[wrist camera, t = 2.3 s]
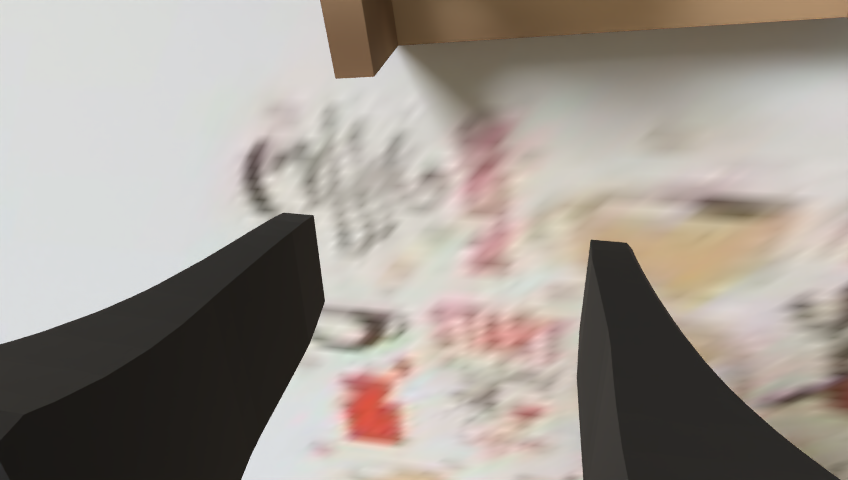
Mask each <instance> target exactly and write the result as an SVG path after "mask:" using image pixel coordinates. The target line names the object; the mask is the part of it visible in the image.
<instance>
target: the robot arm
mask: <svg viewBox="0 0 848 480" xmlns="http://www.w3.org/2000/svg"><path fill="white" fill-rule="evenodd" d="M324 302H325V298H324V291H323V283H322V276H321V268H320V260H319V253H318V245H317V238H316V230H315V222H314V215H303V214H292V213H282V214H280V215H278V216H276V217H274V218H272V219H270V220H269V221H267V222H265V223H263V224H262V225H260V226H258V227H257V228H255V229H253V230H252V231H250V232H248V233H247V234H245V235H243V236H242V237H240V238H239V239H237V240H235V241H234V242H232V243H230V244H229V245H227V246H225V247H224V248H222V249H220V250H219V251H217V252H215V253H214V254H212V255H210V256H209V257H207V258H205V259H203V260H202V261H200V262H198V263H196V264H194V265H193V266H191V267H189V268H187V269H185V270H183V271H182V272H180V273H178V274H176V275H174V276H172V277H171V278H169V279H167V280H165V281H163V282H161V283H160V284H158V285H156V286H154V287H152V288H150V289H148V290H146V291H144V292H141V293H139V294H137V295H135V296H133V297H131V298H128V299H126V300H124V301H122V302H119V303H117V304H115V305H113V306H110V307H108V308H106V309H103V310H101V311H98V312H96V313H93V314H90V315H88V316H85V317H82V318H79V319H77V320H74V321H71V322H68V323H66V324H63V325H60V326H57V327H55V328H52V329H49V330H46V331H43V332H40V333H37V334H34V335H31V336H27V337H24V338H21V339H18V340H14V341H11V342H7V343H4V344H0V480H241V478H242V476H243V474H244V471H245V469H246V466H247V464H248V461H249V459H250V456H251V454H252V452H253V450H254V448H255V446H256V444H257V442H258V440H259V438H260V436H261V434H262V432H263V430H264V428H265V426H266V425H267V423H268V421H269V419H270V417H271V415H272V413H273V412H274V410H275V408H276V406H277V404H278V402H279V400H280V399H281V397H282V395H283V393H284V391H285V389H286V388H287V386H288V384H289V382H290V380H291V378H292V376H293V375H294V373H295V371H296V369H297V367H298V365H299V363H300V361H301V359H302V358H303V356H304V354H305V352H306V350H307V348H308V346H309V344H310V341H311V339H312V336H313V333H314V331H315V328H316V325H317V322H318V320H319V317H320V314H321V311H322V308H323V305H324ZM577 387H578V404H579V420H580V435H581V450H582V466H583V480H840V479H838V478H837V477H836V476H834V475H833V474H831V473H830V472H829V471H827V470H826V469H825V468H823V467H822V466H821V465H819V464H818V463H817V462H815V461H814V460H813V459H811V458H810V457H809V456H807V455H806V454H805V453H803V452H802V451H801V450H799V449H798V448H797V447H795V446H794V445H793V444H792V443H790V442H789V441H788V440H787V439H786V438H784V437H783V436H782V435H781V434H779V433H778V432H777V431H776V430H774V429H773V428H772V427H771V426H770V425H769V424H768V423H767V422H765V421H764V420H763V419H762V418H761V417H760V416H759V415H758V414H756V413H755V412H754V411H753V410H752V409H751V408H750V407H749V406H747V405H746V404H745V403H744V402H743V401H742V400H741V399H740V398H739V397H738V396H737V395H736V394H735V393H734V392H733V391H732V390H731V389H730V388H729V387H728V386H727V385H726V384H725V383H724V382H723V381H722V380H721V379H720V378H719V377H718V376H717V374H716V373H715V372H714V371H713V370H712V369H711V368H710V367H709V365H708V364H707V363H706V362H705V361H704V360H703V358H702V357H701V356H700V355H699V353H698V352H697V351H696V350H695V348H694V347H693V346H692V345H691V343H690V342H689V341H688V339H687V338H686V337H685V336H684V334H683V333H682V332H681V330H680V329H679V327H678V326H677V325H676V323H675V322H674V320H673V319H672V317H671V316H670V314H669V313H668V311H667V310H666V308H665V307H664V305H663V304H662V302H661V301H660V299H659V298H658V296H657V295H656V293H655V291H654V290H653V288H652V286H651V285H650V283H649V281H648V279H647V278H646V276H645V274H644V272H643V271H642V269H641V267H640V265H639V263H638V261H637V259H636V257H635V255H634V253H633V250H632V249H631V247H630V246H629V245H628V244H627V243H622V242H611V241H600V240H591V242H590V250H589V258H588V266H587V274H586V282H585V290H584V298H583V306H582V314H581V322H580V331H579V349H578V367H577Z"/></svg>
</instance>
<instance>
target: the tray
mask: <svg viewBox="0 0 848 480" xmlns="http://www.w3.org/2000/svg"><path fill="white" fill-rule="evenodd" d="M320 2H321V7H322V12H323V17H324V22H325V27H326V32H327V37H328V42H329V48H330V53H331V58H332V63H333V68H334V73H335V78H336V79H337V78H356V77H374V76H375V75H376V73H377V72H378V71H379V70H380V68H381V67H382V66H383V64H384V63H385V62H386V61H387V59H388V58H389V57H390V55H391V54H392V53H393V52H394V50H395V49H396V48H397V46H398V45H414V44H430V43H445V42H461V41H477V40H493V39H508V38H524V37H540V36H555V35H571V34H587V33H603V32H618V31H634V30H650V29H666V28H681V27H697V26H713V25H728V24H744V23H760V22H776V21H791V20H807V19H823V18H838V17H847V18H848V0H320Z"/></svg>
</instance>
